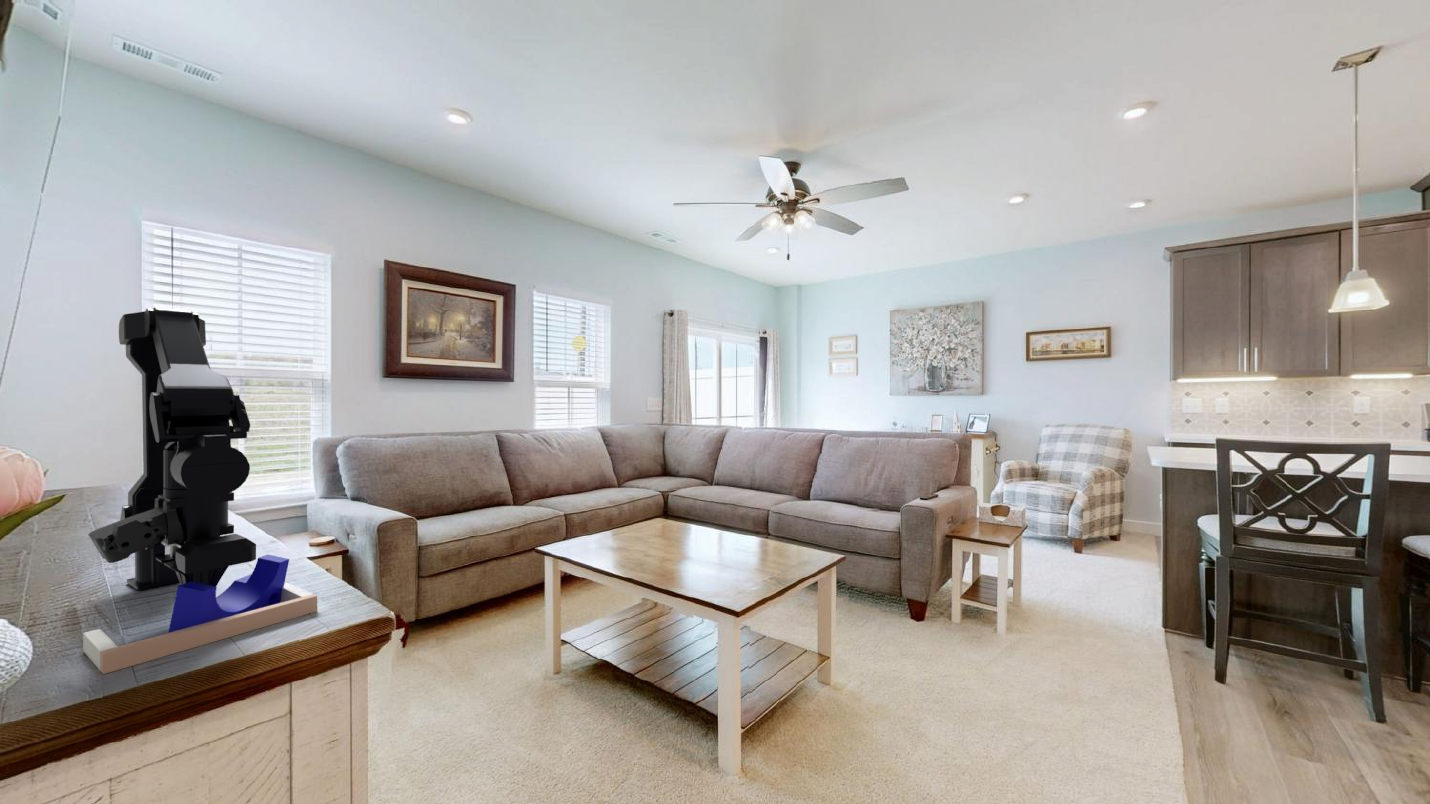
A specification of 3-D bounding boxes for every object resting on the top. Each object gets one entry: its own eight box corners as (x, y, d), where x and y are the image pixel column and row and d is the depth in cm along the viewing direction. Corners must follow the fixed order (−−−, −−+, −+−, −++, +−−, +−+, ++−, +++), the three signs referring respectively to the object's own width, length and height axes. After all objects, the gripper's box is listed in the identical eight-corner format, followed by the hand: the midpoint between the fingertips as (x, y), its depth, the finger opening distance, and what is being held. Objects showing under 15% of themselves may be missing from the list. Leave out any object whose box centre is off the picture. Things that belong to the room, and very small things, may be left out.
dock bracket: (83, 651, 58) (83, 632, 58) (287, 597, 74) (287, 582, 74) (103, 674, 53) (102, 654, 53) (317, 611, 69) (317, 595, 69)
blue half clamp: (247, 595, 72) (256, 552, 72) (280, 602, 72) (289, 559, 72) (154, 635, 60) (165, 583, 60) (193, 643, 60) (204, 591, 60)
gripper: (79, 486, 64) (79, 616, 64) (119, 506, 54) (119, 660, 54) (204, 475, 73) (204, 588, 73) (258, 490, 63) (257, 621, 63)
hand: (196, 611), depth 66 cm, fingers closed
